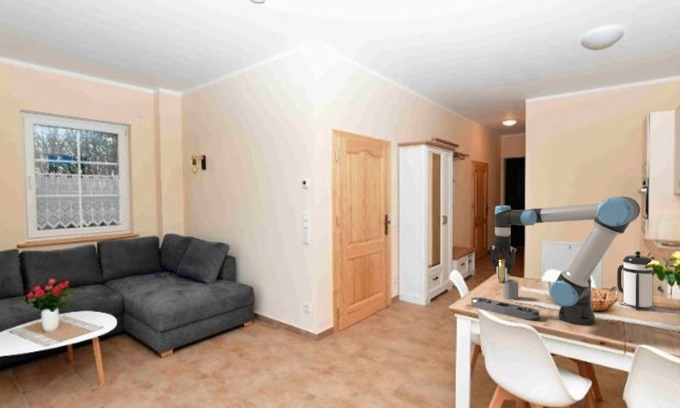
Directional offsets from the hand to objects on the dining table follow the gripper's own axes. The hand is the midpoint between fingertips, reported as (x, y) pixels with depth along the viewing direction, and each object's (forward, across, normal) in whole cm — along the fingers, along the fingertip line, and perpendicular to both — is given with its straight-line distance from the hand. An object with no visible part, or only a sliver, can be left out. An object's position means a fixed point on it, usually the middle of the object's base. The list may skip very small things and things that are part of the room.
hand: (502, 279), depth 191 cm
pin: (+2, 0, 0) cm, 2 cm away
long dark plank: (+17, 0, 0) cm, 17 cm away
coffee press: (+17, -45, -57) cm, 75 cm away
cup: (+17, +8, -27) cm, 33 cm away
